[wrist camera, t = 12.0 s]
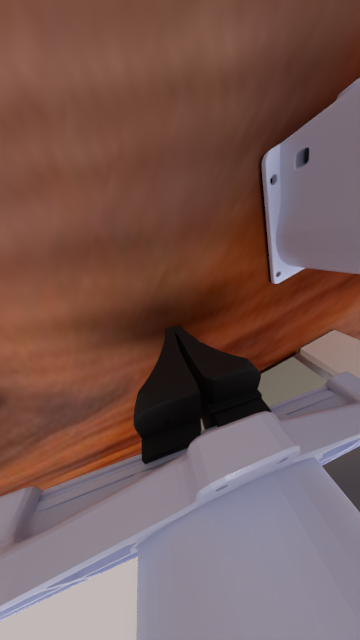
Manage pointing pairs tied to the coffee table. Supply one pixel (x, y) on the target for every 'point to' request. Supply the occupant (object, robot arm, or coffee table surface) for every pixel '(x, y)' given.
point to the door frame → (334, 353)
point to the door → (290, 380)
